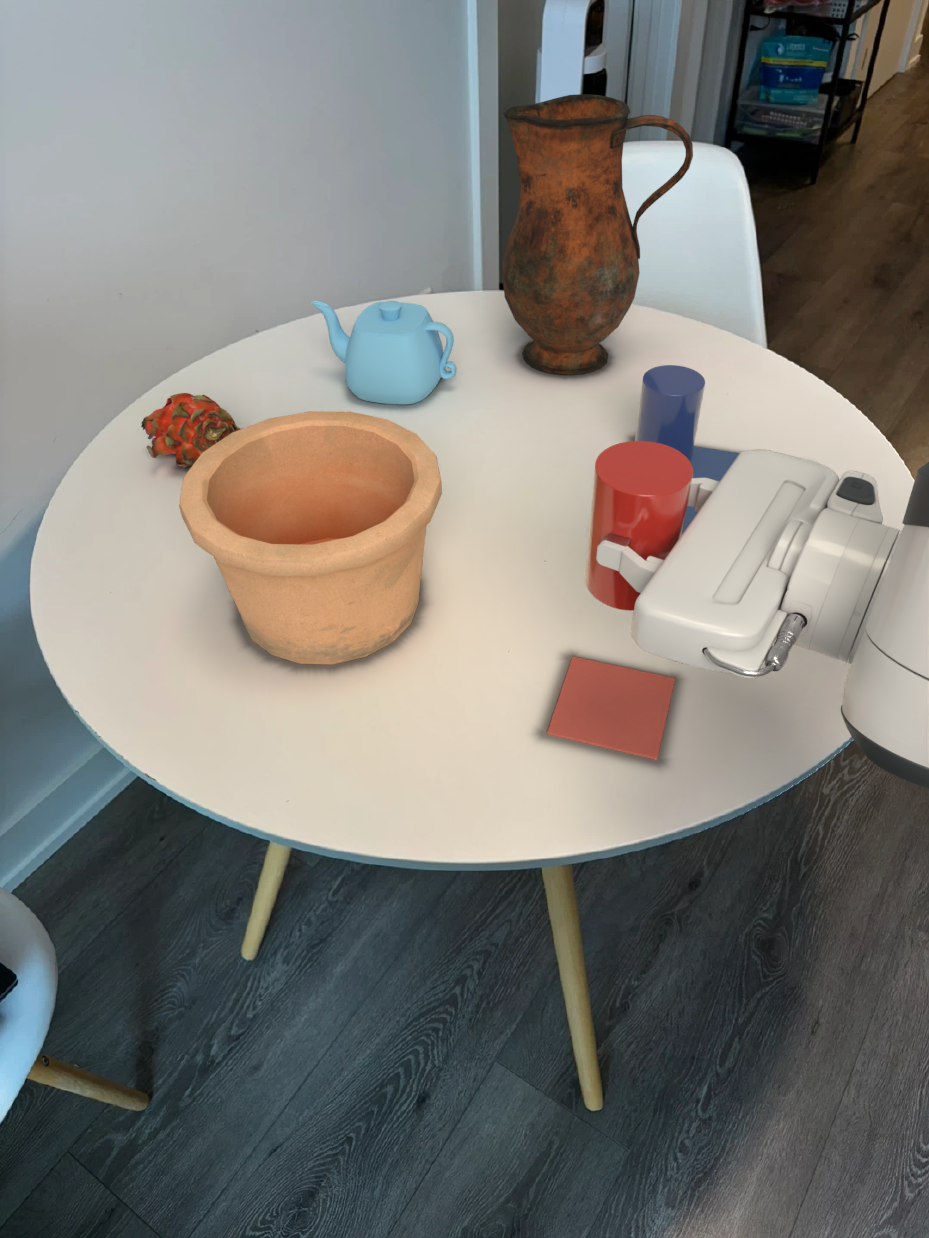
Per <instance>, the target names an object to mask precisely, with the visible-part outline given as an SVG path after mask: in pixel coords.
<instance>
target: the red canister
mask: <svg viewBox="0 0 929 1238" xmlns="http://www.w3.org/2000/svg"><path fill="white" fill-rule="evenodd" d="M593 471H594V472H593V482H592V492H591V493H592V494H591V507H590V516H589V517H590V518H589V528H588V529H589V530H588V540H587V541H588V542H587V553H586V564H585V576H584V582H585V585H586V587H587V590H588V592H589V593H590V594H591V596H593V598H595V600H597V601H599V602H600V603H601V604H604V605H606V606H608V607H610V608H613V609H617V610H622V611H630V612H634V607H635V603H636V600H637V598H638V597H639V595H640V594H641V593H639V592H637V591H636V590H635V589H634V588H633V587H632V586H631V585H630V584H629V583H628V581H627V580H626V579H625V578H624V577H623V576H622V575H621V574H620V572H619V571H617V570H614V569H611V568H608V567H605V566H603V565H600V564H599V563H598V562H597V559H596V556H597V547H598V545H599V544H600V543H601V542H602V540H603V539H604V538H605V537H606V535H607V534H609V533H614V534H617V535H618V536H623V537H627V538H630V539H631V547H630V548H631V549H632V550H633V551H634V552H635V553H637V554H638V555H639V556H640V557H642V558H643V559H644V560H646V559H647V558H648V556H653V557H656V558H659V559H662V560H665V558H666V557H667V556H668V554H669V553H670V551H671V550H672V548H673V547H674V546H675V544H676V543H677V541H678V540H679V538H680V537H681V536H682V534H683V529H684V523H685V518H686V512H687V506H688V501H689V495H690V489H691V483H692V478H693V467H692V464H691V462H690V461H689V460H688V458H687V457H686V456H685V455H684V454H682V453H681V452H679V451H678V450H676V449H674V448H672V447H669V446H667V445H664V444H660V443H656V442H649V441H635V440H629V441H624V442H619V443H616V444H613V445H610V446H609V447H607V448H605V449H604V450H602V452H600V453H599V454H598V456H597V457H596V460H595V462H594V470H593Z"/></svg>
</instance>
